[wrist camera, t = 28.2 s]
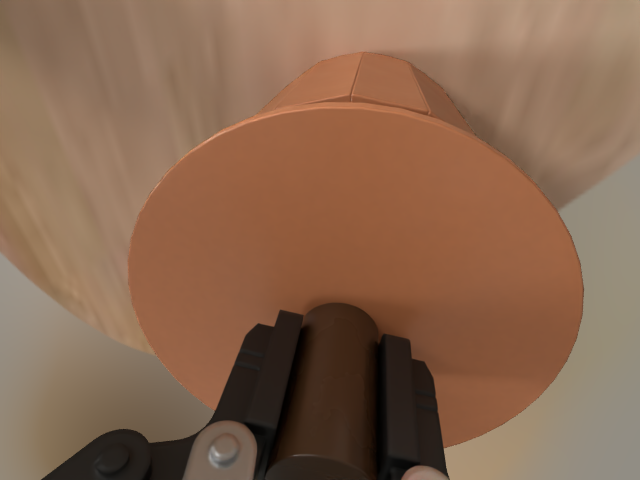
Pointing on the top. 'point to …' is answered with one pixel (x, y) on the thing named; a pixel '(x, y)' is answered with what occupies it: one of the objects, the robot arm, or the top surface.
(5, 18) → the top surface
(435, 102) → the pot
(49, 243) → the top surface
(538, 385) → the lid
